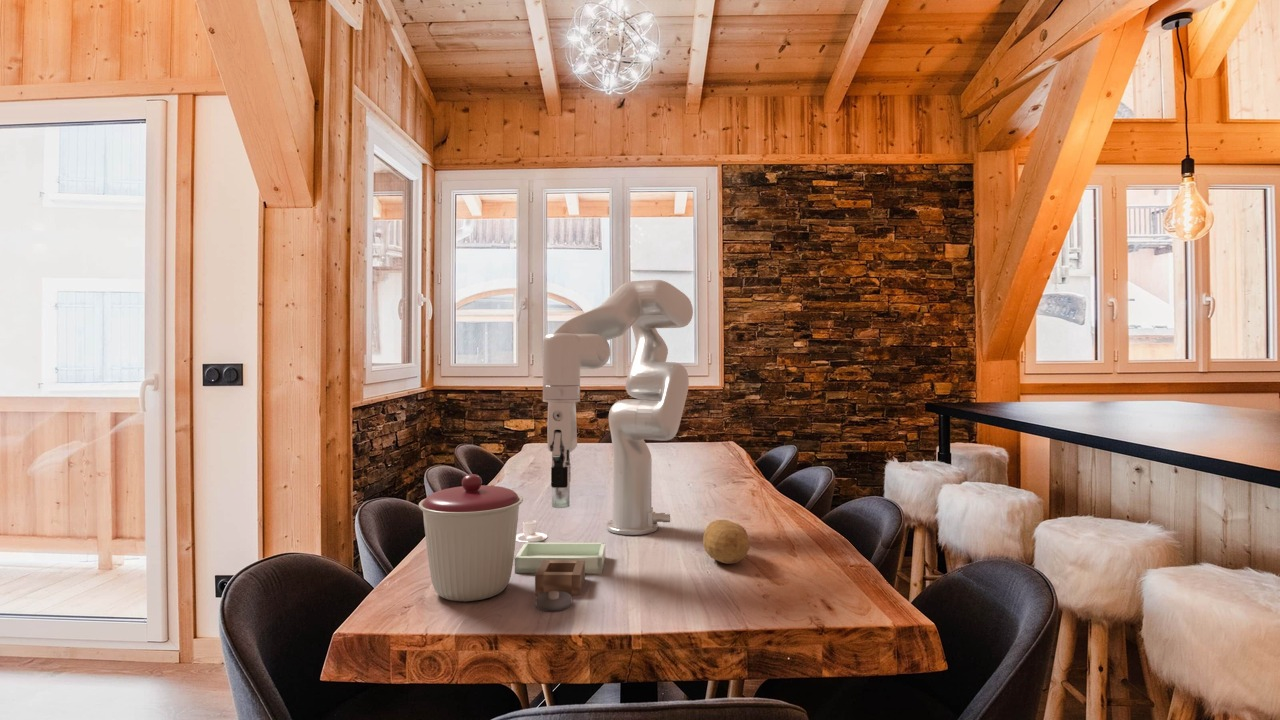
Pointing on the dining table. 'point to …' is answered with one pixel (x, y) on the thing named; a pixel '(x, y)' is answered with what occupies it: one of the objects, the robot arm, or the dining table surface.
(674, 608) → the dining table surface
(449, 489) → the canister
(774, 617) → the dining table surface
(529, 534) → the teacup and saucer
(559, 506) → the dark capped bottle
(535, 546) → the tray
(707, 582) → the dining table surface
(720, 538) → the potato
